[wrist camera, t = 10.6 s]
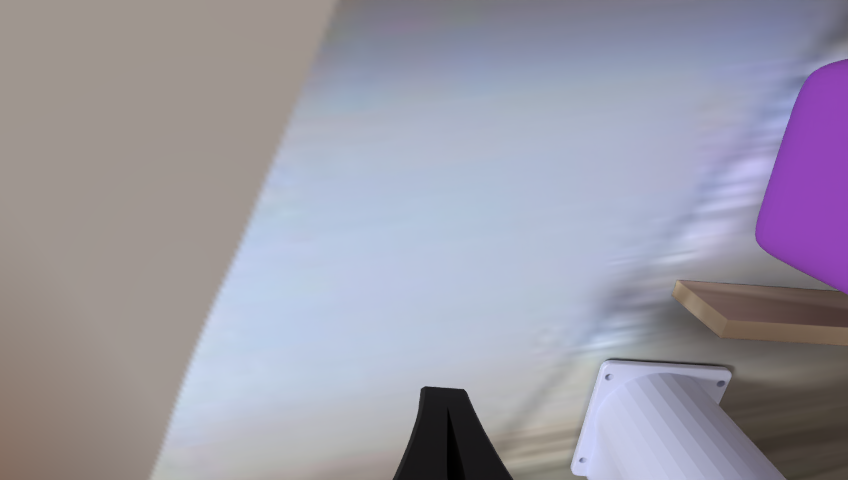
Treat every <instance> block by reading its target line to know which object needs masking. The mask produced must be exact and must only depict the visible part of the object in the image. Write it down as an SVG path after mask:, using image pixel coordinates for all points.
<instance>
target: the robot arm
mask: <svg viewBox="0 0 848 480" xmlns="http://www.w3.org/2000/svg"><path fill="white" fill-rule="evenodd" d="M607 374H610V375H608V376H606V375H607ZM731 376H732V374H731V372H730V371H729V370H728V369H727V368H726V367H718V366H702V365H685V364H669V363H652V362H635V361H619V360H607V361H605V362H604V363H602V365H601V367H600V371H599V374H598V377H597V381H596V384H595V387H594V390H593V394H592V397H591V400H590V404H589V407H588V410H587V414H586V417H585V420H584V424H583V427H582V430H581V434H580V437H579V440H578V443H577V447H576V450H575V453H574V457H573V460H572V463H571V470H572V472H573V474H575V475H578V476H587V478H588V480H787V479H786V478H785V477H784V476H783V475H782V474H781V473H780V472H779V471H778V470H777V468H776V467H775V466H774V465H773V464H772V463H771V462H770V461H769V460H768V459H767V458H766V456H765V455H764V454H763V453H762V452H761V451H760V450H759V449H758V448H757V447H756V446H755V444H754V443H753V442H752V441H751V440H750V439H749V438H748V437H747V436H746V435H745V434H744V432H743V431H742V430H741V429H740V428H739V427H738V426H737V425H736V424H735V423H734V421H733V420H732V419H731V418H730V417H729V416H728V415H727V414H726V413H725V412H724V411H723V409H722V408H721V407H720V406H719V403H720V401H721V399H722V396H723V394H724V392H725V390H726V388H727V385H728V383H729V381H730V379H731ZM393 480H513V478H512V477H511V475H510V474H509V472H508V471H507V469H506V467H505V466H504V464H503V463H502V461H501V459H500V458H499V456H498V454H497V453H496V451H495V449H494V447H493V445H492V444H491V442H490V440H489V438H488V436H487V435H486V433H485V431H484V429H483V427H482V425H481V423H480V421H479V419H478V417H477V415H476V413H475V411H474V409H473V406H472V404H471V402H470V399H469V397H468V394H467V392H466V391H465V390H464V389H454V388H440V387H427V386H425V387H423V388H422V389H421V393H420V401H419V409H418V414H417V418H416V422H415V425H414V428H413V431H412V434H411V437H410V440H409V443H408V445H407V448H406V450H405V453H404V455H403V458H402V460H401V462H400V465H399V467H398V469H397V472H396V474H395V476H394V478H393Z"/></svg>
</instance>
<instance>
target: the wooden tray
mask: <svg viewBox="0 0 848 480" xmlns="http://www.w3.org/2000/svg"><path fill="white" fill-rule="evenodd" d="M672 296H673V297H674V298H675V299H676V300H677V301H678V302H680V303H681V304H682V305H683V306H684V307H685V308H686V309H688V310H689V311H690V312H691V313H692V314H693V315H695V316H696V317H697V318H698V319H699V320H700V321H702V322H703V323H704V324H705V325H706V326H707V327H709V328H710V329H711V330H712V331H713V332H714V333H715V334H717V335H718V336H719V337H720V338H732V339H748V340H764V341H780V342H796V343H812V344H828V345H844V346H848V295H847V294H845V293H843V292H841V291H827V290H813V289H798V288H783V287H769V286H754V285H739V284H725V283H710V282H695V281H681V280H677V282H676V285H675V288H674V291H673V294H672Z"/></svg>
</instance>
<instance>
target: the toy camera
mask: <svg viewBox="0 0 848 480" xmlns="http://www.w3.org/2000/svg"><path fill="white" fill-rule="evenodd" d="M755 236H756V241H757V243H758V244H759V246H760V247H761V248H762V249H764V250H765V251H766V252H767V253H769V254H770V255H772V256H774V257H775V258H777V259H779V260H781V261H783V262H784V263H786V264H788V265H790V266H792V267H794V268H796V269H798V270H800V271H802V272H804V273H806V274H808V275H810V276H812V277H814V278H816V279H818V280H820V281H822V282H824V283H826V284H828V285H830V286H832V287H834V288H836V289H838V290H839V291H841V292H843V293H845V294H847V295H848V59H845V60H841V61H838V62H834V63H830V64H828V65H825V66H823V67H821V68H819V69H818V70H816V71H814V72H813V73H812V74H811V75H810V76H809V77H808V78H807V80H806V81H805V83H804V85H803V87H802V88H801V90H800V92H799V95H798V97H797V99H796V102H795V104H794V107H793V110H792V113H791V116H790V119H789V122H788V125H787V128H786V131H785V134H784V137H783V140H782V143H781V146H780V149H779V152H778V155H777V158H776V162H775V165H774V168H773V171H772V174H771V177H770V180H769V183H768V186H767V189H766V193H765V196H764V199H763V202H762V206H761V209H760V212H759V215H758V220H757V224H756V232H755Z"/></svg>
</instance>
